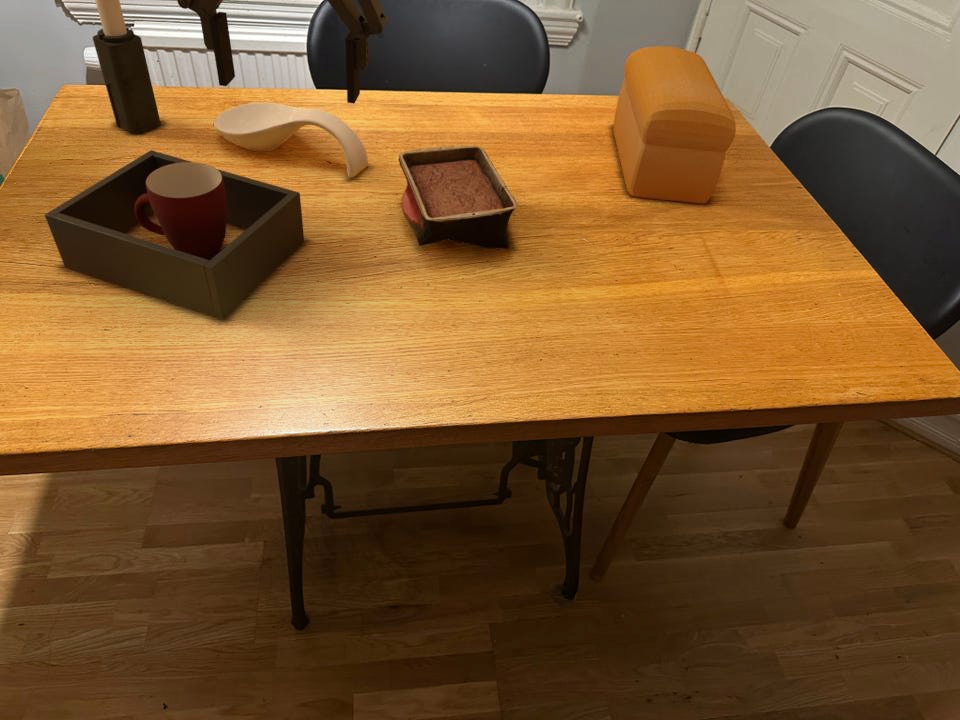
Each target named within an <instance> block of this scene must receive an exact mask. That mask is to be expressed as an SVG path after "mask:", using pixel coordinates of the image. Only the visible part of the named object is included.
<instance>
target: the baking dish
mask: <svg viewBox="0 0 960 720" xmlns="http://www.w3.org/2000/svg"><path fill="white" fill-rule="evenodd" d="M398 162H399V166H400V169H401V170H402V172H403V175H404V177H405V180H406V187H405V190H404V191H403V193H402V196H401V210H402V213H403V215H404V216H405V218H406V220H407V222H408V224H409V226H410V228H411V230H412V232H413V234H414V237H415V239H416V242H417V244H418V247H423V246H427V245H432V244H436V243H440V242H444V241H450V242H455V243H460V244H465V245H469V246H474V247H478V248H479V247H480V248H483V249H509V248H510V243H509V235H508V229H509V225H510V224H509V223H510V219H511V216H512V214H513V213H514V211H515V209H516V208H517V207H518V206H519V205H518V202H517V200H516V197H515V196H514V195H513V193H511V191H510V189H509V188H508V187H507V185H506V183H505V182H504V180H503V179H502V177H501V175H500V174H499V172H498V170H497V168H496V167H495V166H494V164H493V162H492V160H491V159H490V157H489V155H488V154H487V151H485V149H484V148H483V147H482V146H479V145H450V146H439V147H437V146H436V147H427V148H419V149H413V150H412V149H411V150H406V151H403V152H401V153H399V155H398Z"/></svg>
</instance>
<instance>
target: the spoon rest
mask: <svg viewBox="0 0 960 720" xmlns="http://www.w3.org/2000/svg"><path fill="white" fill-rule="evenodd" d="M305 126H315V127H318V128H320V129H322V130H324V131H325V132H327V133H328V134H330V135H331V136H332V137H334V138H335V140H336V141H337V143H338V144H339V145H340V147H341V149H342V151H343V155H344V159H345V164H346V172H347V173H346V174H347V176H348V177H349V178H354V177H355V176H357V175H358V174H359V173H361V172H362V171H363V170H364V169H365V168H367V167H368V165H369V160H368V159H369V158H368V153H367V150H366V148H365V146H364V144H363V142H362V140H361V139H360V137H359V136H358V134H357V133H356V132H355V131H354V129H352V128H351V127H350V126H349V125H348V124H347V123H346V122H344V121H343V120H342V119H340V118H339V117H337V116H336V115H335V114H333V113H331V112H328V111H326V110H323V109H318V108H306V107H298V106H292V105H288V104H283V103H278V102H265V101H264V102H263V101H262V102H249V103H244V104H239V105H235V106H233V107H231V108H228V109H226V110H224V111H222V112H221V113H219V114H217V116H216V117H215V119H214V120H213V127H214V128H215V130H216V131H217V132H218V133H219V135H220V136H221V137H222V138H223V139H225V140H227V141H228V142H230V143H231V144H233V145H236V146H238V147H241V148H244V149H246V150H249V151H251V152H269V151H273V150H275V149H278V148H279V147H281V146H282V145H283V144H284V143H285V142H287V141H288V140H289V139H290V138H291V137H292V136H293V135H295V134H296V132H297V131H298V132H299V130H300V129H302V128H303V127H305Z"/></svg>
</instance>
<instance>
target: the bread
mask: <svg viewBox="0 0 960 720" xmlns="http://www.w3.org/2000/svg"><path fill="white" fill-rule="evenodd" d="M623 73H624V74H623V79H624V80H623V82H622V85H621V87H620V92H619V95H618V99H617V102H616V107H615V112H614V119H613V135H614V140H615V145H616V149H617V152H618V157H619V162H620V166H621V171H622V175H623V180H624V185H625V188H626V190H627V192H628V194H629V195H630V196H632V197H635V198H643V199H652V200H653V199H654V200H662V201H673V202H683V203H691V204H692V203H693V204H706V203H708V201H709V200H710V198H711V197H712V196H713V194H714V192H715V189H716V187H717V184H718V182H719V180H720V179H719V178H720V176H721V173H722V170H723V167H724V164H725V159H726V153H727V151H728V150H729V149H730V147H731V146H732V144H733V142H734V141H735V140H734V139H735V138H736V131H737V128H736V127H737V125H736V120H735V117H734V115H733V112H732V110H731V108H730V107H729V104H728V102H727V100H726V99H725V96H724V95H723V93H722V91H721V89H720V87H719V86H718V84H717V82H716V80H715V78H714V75H713V74H712V73H711V71H710V69H709V67H708V64H707V63H706V61H705V59H704V58H703V57H702V55H700V54H698V53H696V52H694V51H691V50H688V49H684V48H680V47H676V46H671V45H670V46H667V45H659V46H658V45H657V46H647V47H641V48H639V49H637V50H635V51H633V52H631V54H630V55H629V56H628V57H627V59H626V62H625V65H624V71H623Z"/></svg>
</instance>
